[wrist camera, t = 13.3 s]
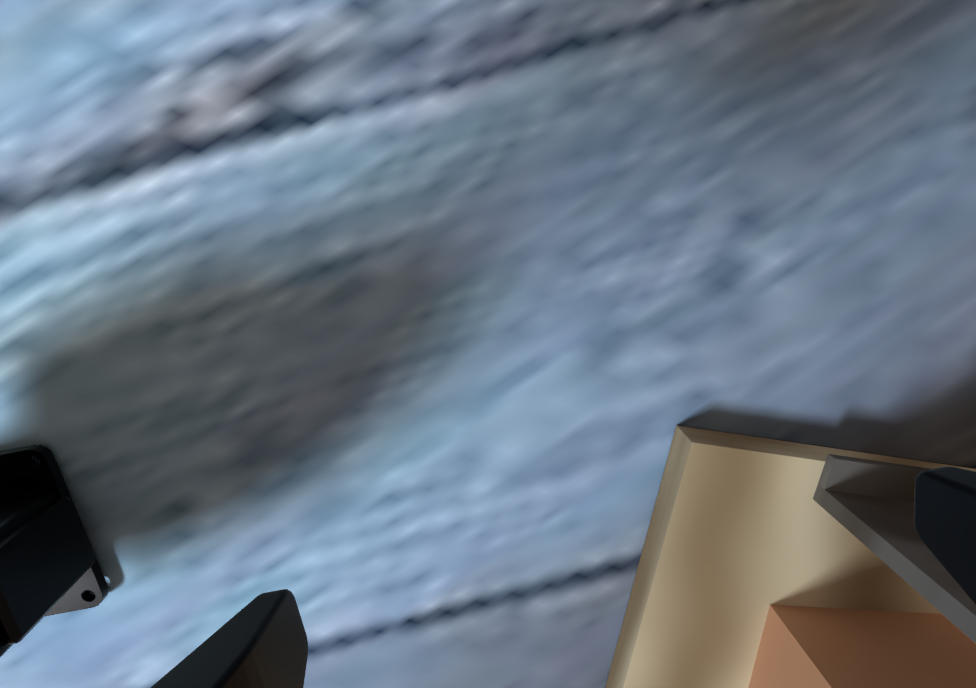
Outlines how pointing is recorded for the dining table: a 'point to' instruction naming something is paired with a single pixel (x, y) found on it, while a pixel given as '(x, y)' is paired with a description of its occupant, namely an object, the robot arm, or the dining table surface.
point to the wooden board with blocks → (770, 554)
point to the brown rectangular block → (861, 650)
